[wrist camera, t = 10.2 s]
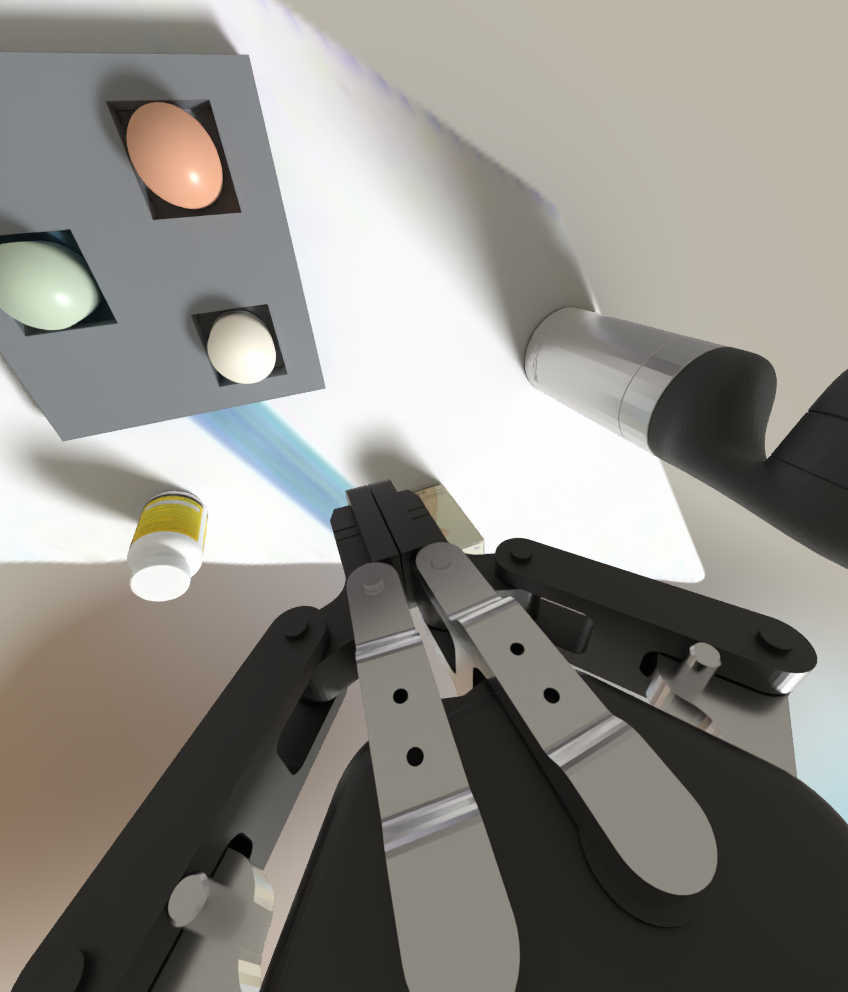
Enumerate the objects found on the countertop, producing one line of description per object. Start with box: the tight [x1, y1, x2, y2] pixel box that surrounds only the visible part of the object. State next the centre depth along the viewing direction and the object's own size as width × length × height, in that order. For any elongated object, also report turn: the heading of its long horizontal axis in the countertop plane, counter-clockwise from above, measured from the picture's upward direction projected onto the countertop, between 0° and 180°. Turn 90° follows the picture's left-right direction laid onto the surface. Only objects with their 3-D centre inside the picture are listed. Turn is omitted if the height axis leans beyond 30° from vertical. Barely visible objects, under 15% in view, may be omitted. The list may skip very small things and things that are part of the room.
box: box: [414, 484, 484, 554], centre depth 45 cm, size 5×4×11 cm
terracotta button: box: [127, 102, 223, 209], centre depth 24 cm, size 5×5×4 cm
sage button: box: [0, 240, 102, 330], centre depth 25 cm, size 5×5×4 cm
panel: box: [0, 52, 325, 441], centre depth 27 cm, size 20×20×2 cm
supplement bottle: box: [127, 491, 208, 601], centre depth 34 cm, size 5×5×10 cm
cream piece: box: [207, 310, 276, 384], centre depth 31 cm, size 5×5×4 cm
